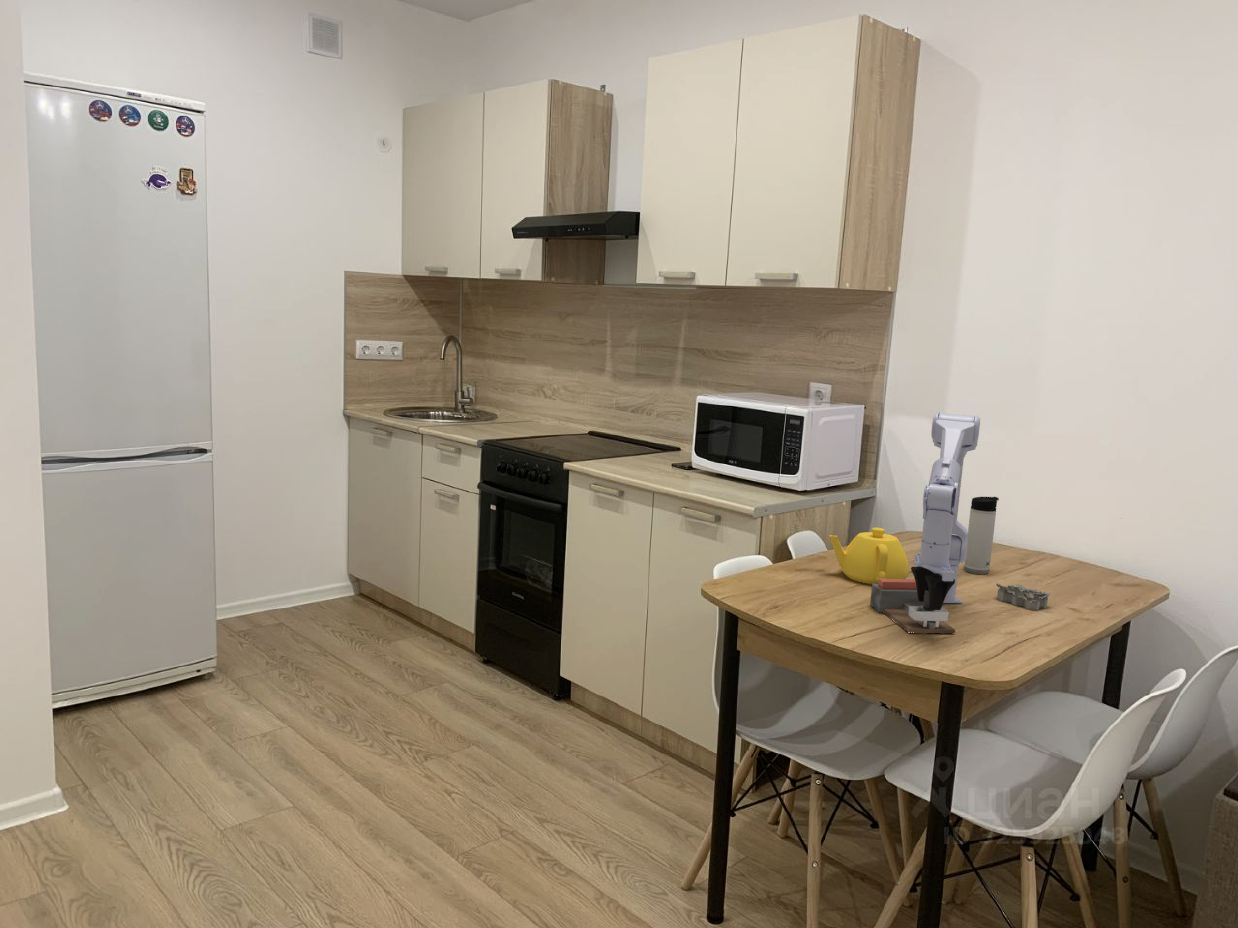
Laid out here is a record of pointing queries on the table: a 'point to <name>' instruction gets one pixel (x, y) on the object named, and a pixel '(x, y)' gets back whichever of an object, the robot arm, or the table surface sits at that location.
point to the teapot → (872, 557)
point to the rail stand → (903, 609)
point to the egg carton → (1023, 596)
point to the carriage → (927, 613)
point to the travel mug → (980, 534)
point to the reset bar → (897, 583)
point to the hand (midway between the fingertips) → (929, 605)
